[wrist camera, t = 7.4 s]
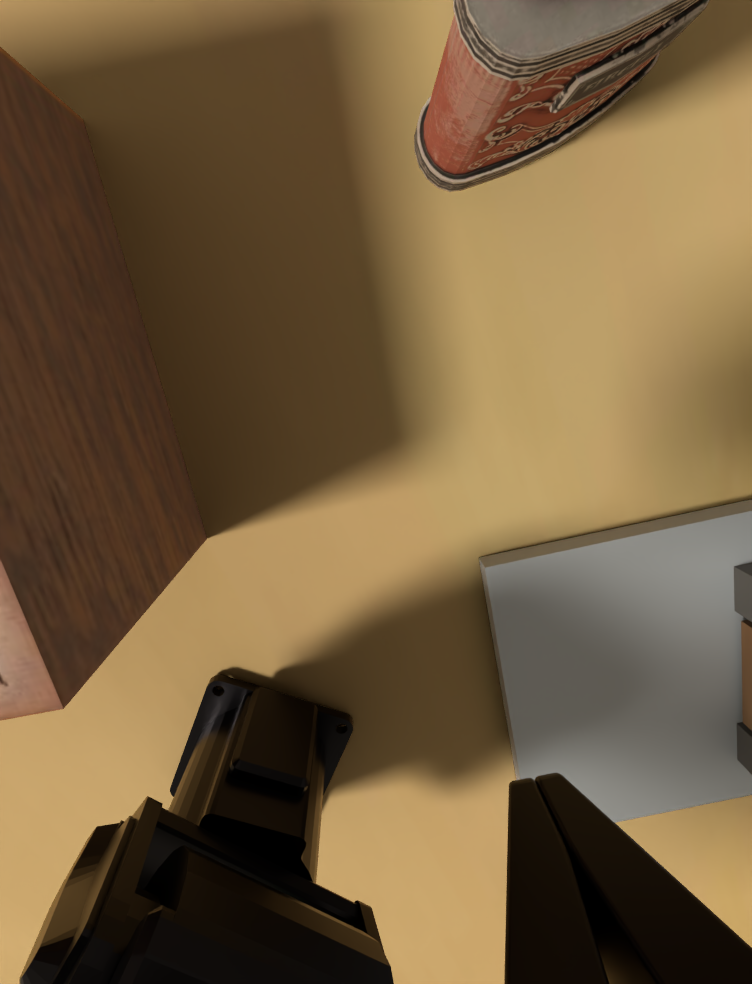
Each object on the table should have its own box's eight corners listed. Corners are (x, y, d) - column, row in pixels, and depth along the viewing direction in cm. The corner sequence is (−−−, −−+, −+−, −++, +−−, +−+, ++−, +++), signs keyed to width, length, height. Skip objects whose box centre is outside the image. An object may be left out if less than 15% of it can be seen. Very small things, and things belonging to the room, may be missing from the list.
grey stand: (523, 819, 24) (577, 969, 18) (478, 557, 20) (528, 638, 14) (805, 762, 23) (953, 896, 17) (812, 486, 20) (1004, 538, 14)
